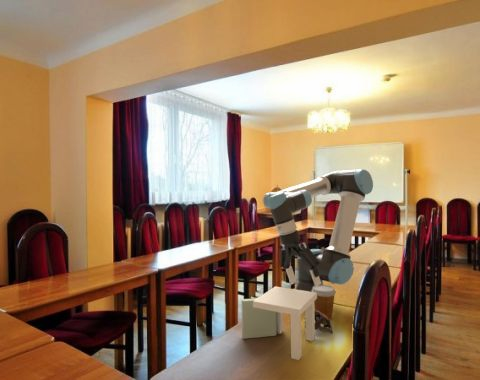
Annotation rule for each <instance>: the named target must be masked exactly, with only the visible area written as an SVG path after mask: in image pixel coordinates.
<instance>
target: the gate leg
mask: <svg viewBox="0 0 480 380" xmlns="http://www.w3.org/2000/svg"><path fill="white" fill-rule="evenodd" d="M257 298H258V297H257ZM257 298H244V299H241V334H242V335H241V336H242V339H243V340H244V339H245V340H246V339H254V338H265V337H276V336H277V334H279V333H278V312H275V311H270V310H265V309H260V308H254V307H253V301H254V300H256V299H257Z"/></svg>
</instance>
